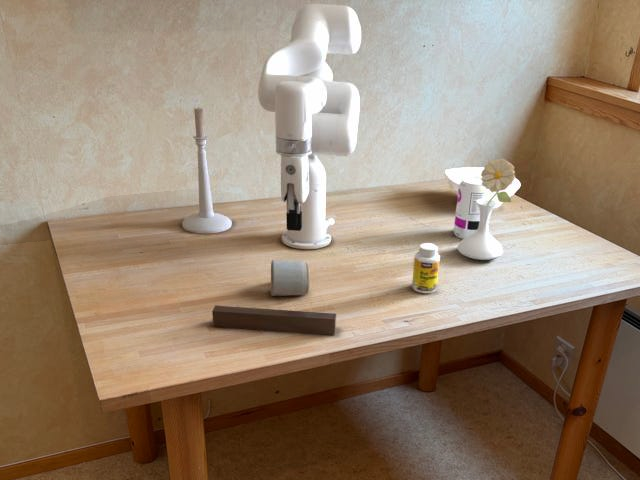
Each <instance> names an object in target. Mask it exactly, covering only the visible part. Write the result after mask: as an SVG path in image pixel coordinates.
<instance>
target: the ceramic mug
mask: <svg viewBox="0 0 640 480" xmlns="http://www.w3.org/2000/svg"><path fill="white" fill-rule="evenodd" d="M310 288H311V269H310V265H309V263H308V262H306V261H301V260H282V259H272V260H271V263H270V291H271V296H272V297H282V296H283V297H284V296H286V297H288V296H303V295H307V294H309V292H310Z"/></svg>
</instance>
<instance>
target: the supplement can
mask: <svg viewBox="0 0 640 480" xmlns="http://www.w3.org/2000/svg"><path fill="white" fill-rule="evenodd" d="M482 182H483V181H482V180H481V177H464V178H463V179H462V181H461V182H460V184H459V190H458V196H457V199H456V207H455V214H454V215H455V217H454V225H453V234H455V236H456V237H457V238H458V239H461V240H463V239H464V238H466V237H468V236H469V235H471V234H473V233H474V232H476V231H477V229H478V227H479V221H480V210H479V206H478V204H477V202H476V201H477V200H479V199H490V197H489V196H488V195H487V194H485V193H484V192H482V191H481V189H483V190H484V191H486V192H487V193H488V194H489V195H490V191H489V189H486V188H485V187H483V185H482V184H481V183H482ZM479 186H480V188H481V189H480V188H479Z"/></svg>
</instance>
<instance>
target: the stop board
mask: <svg viewBox="0 0 640 480" xmlns="http://www.w3.org/2000/svg"><path fill="white" fill-rule="evenodd" d="M211 313H212V314H211V315H212V316H211V317H212V326H213V328H226V329H227V328H228V329H238V330H239V329H241V330H255V331H269V332H270V331H271V332H281V333H282V332H285V333H299V334H313V335H328V336H335V334H336V330H337V313H334V312H333V313H332V312H318V311H305V310H303V311H302V310H291V309H290V310H287V309H275V308H259V307H258V308H257V307H245V306H231V305H230V306H229V305H218V304H217V305H214V307H213V308H212V312H211Z"/></svg>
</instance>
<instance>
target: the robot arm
mask: <svg viewBox="0 0 640 480" xmlns="http://www.w3.org/2000/svg"><path fill="white" fill-rule="evenodd" d="M294 17H295V18H294V21H293V22H292V26H291V31H290V32H291V33H290V34H291V35H290V40H289V43H286V44H284V45H283V46H281V47H280V48H278V49H277V50H275V51H274V52H273V53H272V54H270V55H269V56H268V57H267V58H266V60H265V61H264V64H263V67H262V70H261V74H260V77H259V82H258V90H257V97H258V102H259V104H260V106H261V107H262V109H264V110H265V111H267V112H271V113H274V117H275V119H274V120H275V121H274V122H275V123H274V125H275V153H276V154H277V155H280V196H281V201H282V202H283V203H286V213H285V214H286V231H284V232H283V233H282V235H281V242H282V243H283V244H284V245H285V246H287V247H290V248H293V249H298V250H316V249H317V250H318V249H321V248H324V247H327V246H328V245H330V244H331V242H332V235H331V234H330V233H329V232H328V228H330V227H332V226H334V225H335V224H336V222H335V219H334V218H333V217H330V218H329V217H328V218H327V219H326V208H327V207H326V205H327V203H326V201H327V173H326V170H325V169H326V168H325V167H324V165H323V163H322V162H321V160H320V159H319V157H318V156H324V157H325V156H327V157H348V156H351V155H352V154H353V152H354V151H355V149H356V145H357V139H358V131H359V130H358V129H359V120H360V110H361V108H360V107H361V100H360V99H361V98H360V97H361V96H360V93H359V92H360V91H359V89H358V88H357V87H356V85H355V84H353V83H351V82H347V81H335V80H333V78H334V75H333V70H332V69H331V67H330V66H329V64H328V63H327V62H326V59H327V54H333V55H355V54H357V52H358V51H359V49H360V47H361V43H362V27H361V23H360V20H359V17H358V14H357V13H356V11H355V10H354V9H353V8H352V7H350V6H348V5H345V4H328V3H308V4H304V5H303V6H301V7H300V8H299V9H298V10H297V12H296V14H295V16H294Z"/></svg>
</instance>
